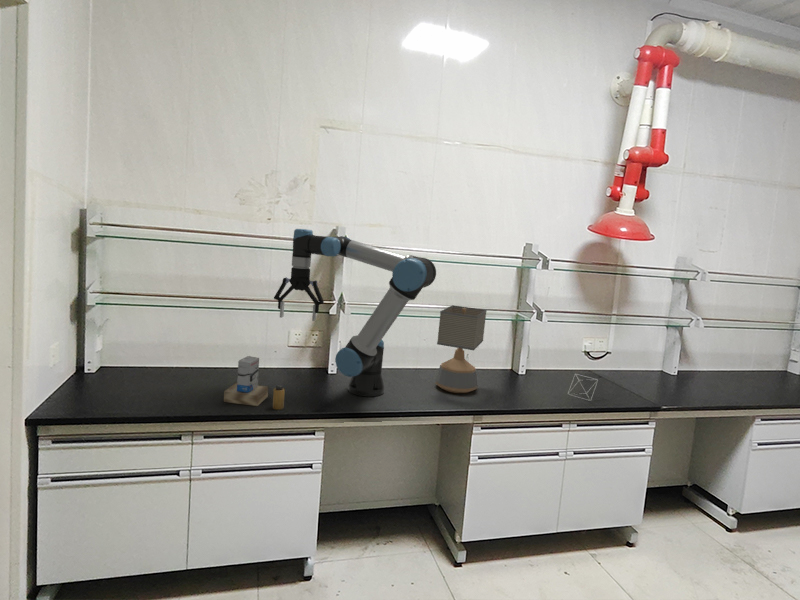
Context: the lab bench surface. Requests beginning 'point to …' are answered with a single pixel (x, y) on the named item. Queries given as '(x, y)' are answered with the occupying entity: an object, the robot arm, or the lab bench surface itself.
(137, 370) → the lab bench surface
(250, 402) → the beech plinth
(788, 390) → the lab bench surface
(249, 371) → the ink box
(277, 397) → the amber bottle
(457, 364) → the desk lamp
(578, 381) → the geometric polyhedron
